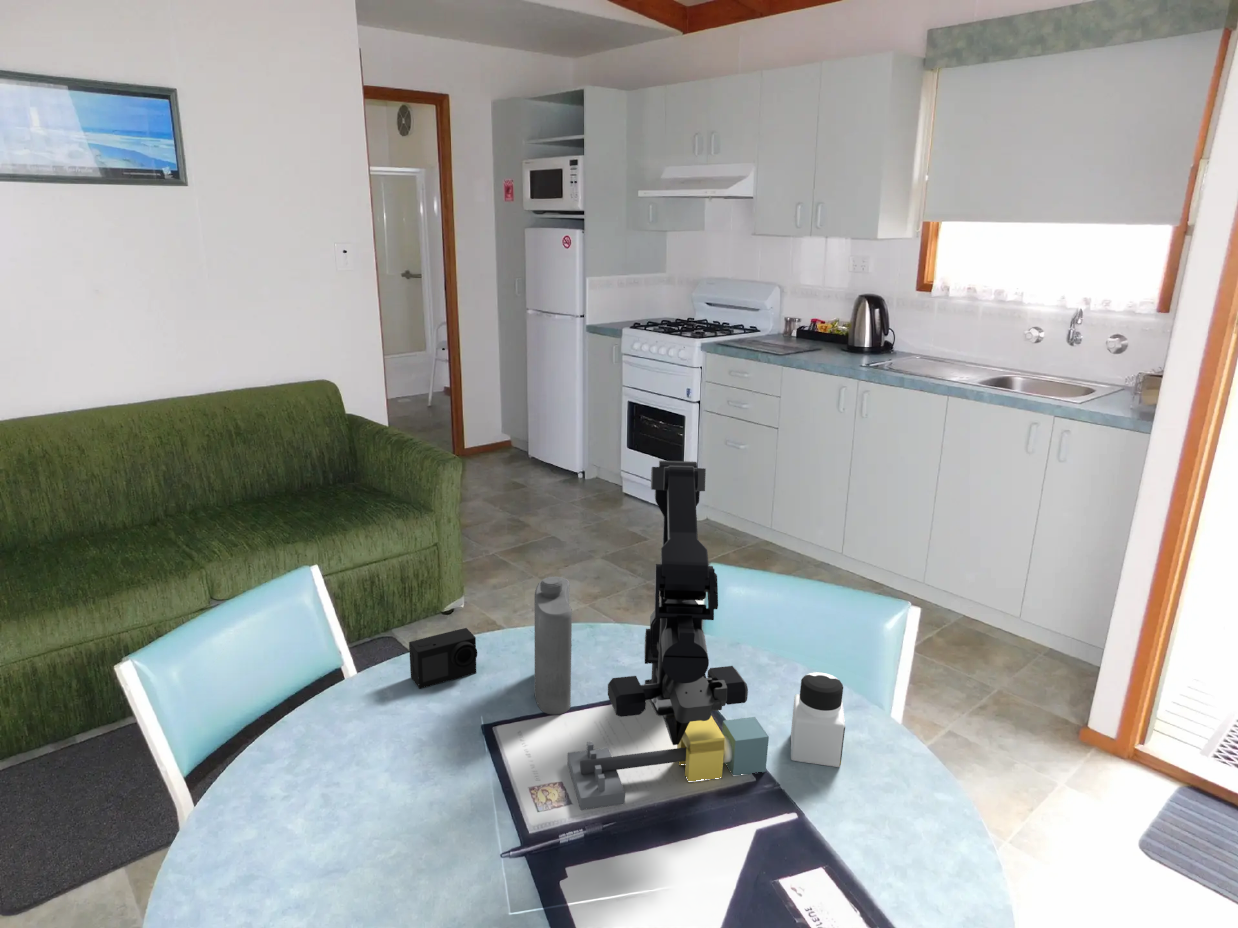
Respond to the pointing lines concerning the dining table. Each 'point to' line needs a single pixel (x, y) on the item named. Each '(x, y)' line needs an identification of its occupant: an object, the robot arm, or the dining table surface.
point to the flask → (553, 645)
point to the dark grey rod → (740, 751)
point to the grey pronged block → (595, 780)
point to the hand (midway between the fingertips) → (674, 743)
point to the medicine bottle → (818, 721)
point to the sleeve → (703, 750)
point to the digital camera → (442, 657)
